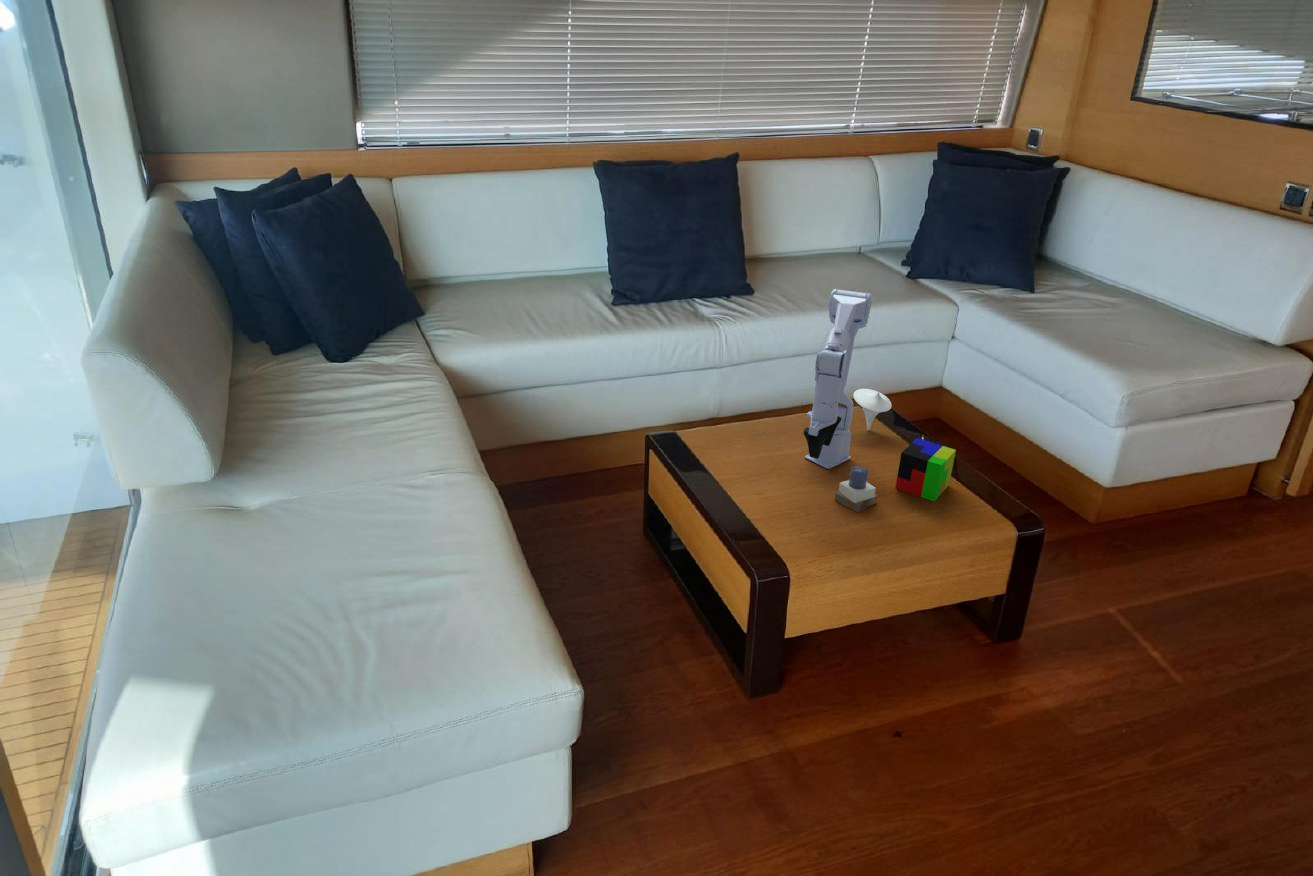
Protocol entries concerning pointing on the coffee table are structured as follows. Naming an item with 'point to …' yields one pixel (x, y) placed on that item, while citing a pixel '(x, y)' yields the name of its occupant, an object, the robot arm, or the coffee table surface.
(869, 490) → the cream top block
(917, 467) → the puzzle toy
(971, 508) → the coffee table surface
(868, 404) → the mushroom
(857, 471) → the navy rounded cylinder
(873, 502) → the walnut base block
